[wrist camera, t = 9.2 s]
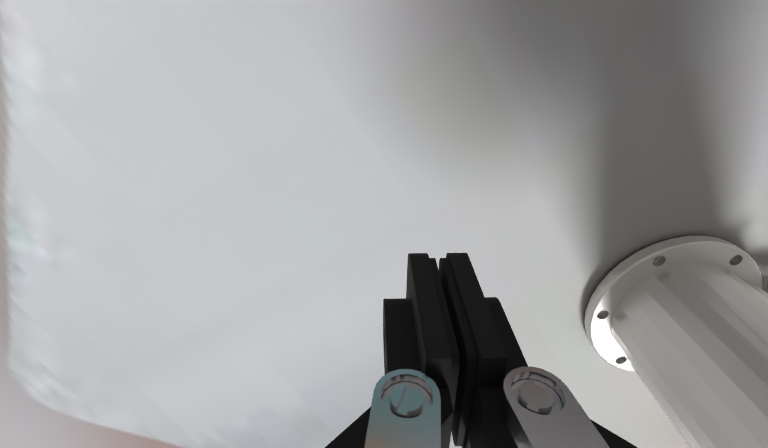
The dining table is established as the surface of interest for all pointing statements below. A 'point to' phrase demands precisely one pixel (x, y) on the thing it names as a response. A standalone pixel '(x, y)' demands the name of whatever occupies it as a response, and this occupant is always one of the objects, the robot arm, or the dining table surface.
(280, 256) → the dining table surface
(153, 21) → the dining table surface
